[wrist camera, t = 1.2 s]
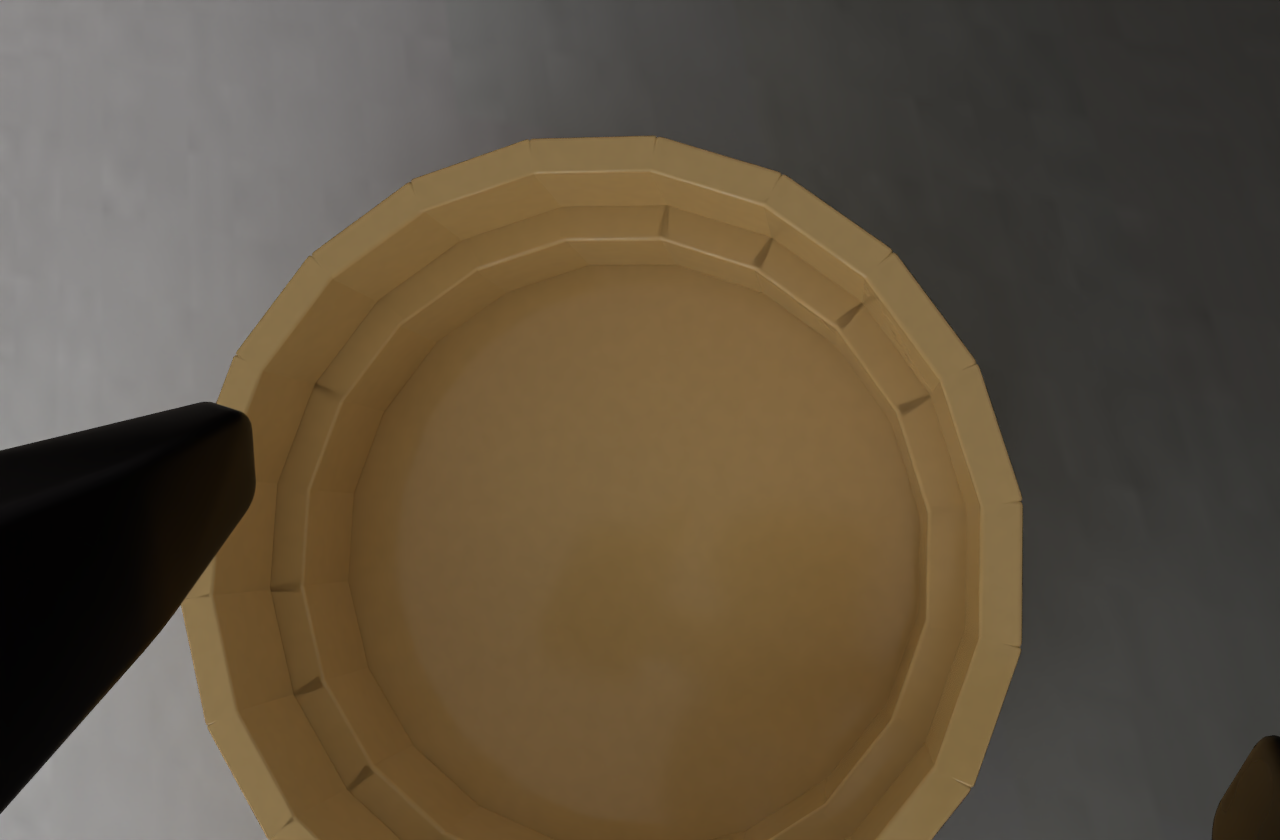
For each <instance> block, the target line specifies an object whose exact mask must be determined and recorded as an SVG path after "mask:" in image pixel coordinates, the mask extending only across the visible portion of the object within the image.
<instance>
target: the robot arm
mask: <svg viewBox="0 0 1280 840" xmlns="http://www.w3.org/2000/svg"><path fill="white" fill-rule="evenodd" d="M255 489H256V474H255V459H254V445H253V431H252V424H251V422H250V420H249V418H248V416H247V415H246V414H244V413H243V412H241V411H239V410H235V409H232V408H229V407H226V406H223V405H220V404H216V403H212V402H200V403H196V404H192V405H188V406H184V407H179V408H175V409H171V410H167V411H163V412H159V413H155V414H150V415H146V416H142V417H138V418H134V419H130V420H126V421H121V422H117V423H113V424H109V425H105V426H101V427H97V428H92V429H88V430H84V431H80V432H76V433H72V434H68V435H63V436H59V437H55V438H51V439H47V440H43V441H39V442H34V443H30V444H26V445H22V446H18V447H14V448H10V449H5V450H1V451H0V814H1V813H2V812H3V810H4V809H5V808H6V807H7V806H8V805H9V804H10V802H11V801H12V800H13V799H14V798H15V797H16V796H17V795H18V793H19V792H20V791H21V790H22V789H23V788H24V787H25V785H26V784H27V783H28V782H29V781H30V780H31V779H32V778H33V776H34V775H35V774H36V773H37V772H38V771H39V770H40V768H41V767H42V766H43V765H44V764H45V763H46V762H47V761H48V759H49V758H50V757H51V756H52V755H53V754H54V753H55V751H56V750H57V749H58V748H59V747H60V746H61V745H62V744H63V742H64V741H65V740H66V739H67V738H68V737H69V736H70V734H71V733H72V732H73V731H74V730H75V729H76V728H77V727H78V725H79V724H80V723H81V722H82V721H83V720H84V719H85V717H86V716H87V715H88V714H89V713H90V712H91V711H92V710H93V708H94V707H95V706H96V705H97V704H98V703H99V702H100V700H101V699H102V698H103V697H104V696H105V695H106V694H107V693H108V691H109V690H110V689H111V688H112V687H113V686H114V685H115V683H116V682H117V681H118V680H119V679H120V678H121V677H122V676H123V674H124V673H125V672H126V671H127V670H128V669H129V668H130V666H131V665H132V664H133V663H134V662H135V661H136V660H137V659H138V657H139V656H140V655H141V654H142V653H143V652H144V651H145V649H146V648H147V647H148V646H149V645H150V643H151V642H152V641H153V640H154V639H155V637H156V636H157V635H158V634H159V633H160V631H161V630H162V629H163V628H164V626H165V625H166V624H167V622H168V621H169V620H170V618H171V617H172V616H173V614H174V613H175V612H176V610H177V609H178V608H179V606H180V605H181V603H182V602H183V601H184V599H185V598H186V596H187V595H188V594H189V592H190V591H191V589H192V588H193V587H194V585H195V584H196V582H197V581H198V580H199V578H200V577H201V575H202V574H203V572H204V571H205V570H206V568H207V567H208V565H209V564H210V563H211V561H212V560H213V558H214V557H215V556H216V554H217V553H218V551H219V550H220V549H221V547H222V546H223V544H224V543H225V542H226V540H227V539H228V537H229V536H230V534H231V533H232V532H233V530H234V529H235V527H236V526H237V525H238V523H239V522H240V520H241V519H242V518H243V516H244V515H245V513H246V512H247V510H248V509H249V507H250V505H251V503H252V501H253V498H254V494H255ZM1212 840H1280V737H1279V736H1275V735H1272V736H1267V737H1264V738H1262V739H1261V740H1260V741H1259V742H1258V743H1257V744H1256V745H1255V746H1254V748H1253V749H1252V751H1251V753H1250V754H1249V756H1248V757H1247V759H1246V761H1245V762H1244V764H1243V765H1242V767H1241V769H1240V770H1239V772H1238V773H1237V775H1236V777H1235V778H1234V780H1233V781H1232V783H1231V785H1230V786H1229V788H1228V789H1227V791H1226V793H1225V794H1224V796H1223V797H1222V799H1221V801H1220V803H1219V805H1218V808H1217V810H1216V813H1215V817H1214V822H1213V828H1212Z"/></svg>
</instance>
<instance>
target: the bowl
mask: <svg viewBox="0 0 1280 840" xmlns="http://www.w3.org/2000/svg"><path fill="white" fill-rule="evenodd" d="M236 354H237V355H235V356H234V357H233V360H232V363H231V365H230V368H229V371H228V373H227V376H226V379H225V381H224V384H223V387H222V389H221V392H220V394H219V397H218V400H217V402H216V404H220V405H223V406H226V407H229V408H232V409H235V410H239V411H241V412H243V413H244V414H246V415H247V416H248V418H249V420H250V422H251V424H252V431H253V445H254V459H255V474H256V489H255V494H254V498H253V501H252V503H251V505H250V507H249V509H248V510H247V512H246V513H245V515H244V516H243V518H242V519H241V520H240V522H239V523H238V525H237V526H236V527H235V529H234V530H233V532H232V533H231V534H230V536H229V537H228V539H227V540H226V542H225V543H224V544H223V546H222V547H221V549H220V550H219V551H218V553H217V554H216V556H215V557H214V558H213V560H212V561H211V563H210V564H209V565H208V567H207V568H206V570H205V571H204V572H203V574H202V575H201V577H200V578H199V580H198V581H197V582H196V584H195V585H194V587H193V588H192V589H191V591H190V592H189V594H188V595H187V596H186V598H185V599H184V601H183V602H182V603H181V607H182V612H183V617H184V622H185V626H186V631H187V636H188V641H189V646H190V650H191V655H192V660H193V665H194V670H195V674H196V679H197V684H198V689H199V693H200V698H201V703H202V708H203V713H204V717H205V722H206V725H208V726H207V728H208V730H209V732H210V734H211V735H212V737H213V739H214V741H215V743H216V745H217V747H218V748H219V750H220V752H221V754H222V756H223V758H224V759H225V761H226V763H227V765H228V767H229V769H230V770H231V772H232V774H233V776H234V778H235V780H236V781H237V783H238V785H239V787H240V789H241V791H242V793H243V794H244V796H245V798H246V800H247V802H248V804H249V805H250V807H251V809H252V811H253V813H254V815H255V816H256V818H257V820H258V822H259V824H260V826H261V828H262V829H263V831H264V833H265V835H266V837H267V839H268V840H932V839H933V838H934V837H935V835H936V834H937V833H938V831H939V830H940V829H941V828H942V826H943V825H944V824H945V823H946V821H947V820H948V819H949V818H950V816H951V815H952V814H953V813H954V811H955V810H956V809H957V808H958V806H959V805H960V804H961V803H962V801H963V800H964V799H965V798H966V796H967V795H968V794H969V792H970V790H971V787H973V786H974V785H975V782H976V779H977V777H978V774H979V771H980V768H981V765H982V762H983V759H984V757H985V754H986V751H987V748H988V745H989V742H990V739H991V736H992V734H993V731H994V728H995V725H996V722H997V719H998V716H999V714H1000V711H1001V708H1002V705H1003V702H1004V699H1005V696H1006V694H1007V691H1008V688H1009V685H1010V682H1011V679H1012V676H1013V674H1014V671H1015V668H1016V665H1017V662H1018V659H1019V656H1020V654H1021V648H1020V646H1021V644H1022V586H1023V504H1022V502H1020V501H1022V495H1021V492H1020V489H1019V486H1018V483H1017V480H1016V477H1015V474H1014V471H1013V467H1012V464H1011V461H1010V458H1009V455H1008V452H1007V449H1006V446H1005V443H1004V440H1003V437H1002V434H1001V431H1000V428H999V425H998V422H997V419H996V416H995V413H994V410H993V407H992V404H991V400H990V397H989V394H988V391H987V388H986V385H985V382H984V379H983V376H982V373H981V370H980V367H979V365H978V364H976V361H975V358H974V357H973V356H972V354H971V353H970V352H969V350H968V349H967V348H966V346H965V345H964V344H963V342H962V341H961V340H960V338H959V337H958V336H957V334H956V333H955V332H954V330H953V329H952V328H951V326H950V325H949V324H948V322H947V321H946V320H945V318H944V317H943V316H942V314H941V313H940V311H939V310H938V309H937V307H936V306H935V305H934V303H933V302H932V301H931V299H930V298H929V297H928V295H927V294H926V293H925V291H924V290H923V289H922V287H921V286H920V285H919V283H918V282H917V281H916V279H915V278H914V277H913V275H912V274H911V273H910V271H909V270H908V268H907V267H906V266H905V264H904V263H903V262H902V260H901V259H900V258H899V256H898V255H897V254H896V253H892V249H891V248H890V247H888V246H887V245H886V244H884V243H883V242H881V241H880V240H878V239H877V238H876V237H874V236H873V235H871V234H870V233H868V232H867V231H865V230H864V229H863V228H861V227H860V226H858V225H857V224H855V223H854V222H853V221H851V220H850V219H848V218H847V217H845V216H844V215H843V214H841V213H840V212H838V211H837V210H835V209H834V208H833V207H831V206H830V205H828V204H827V203H825V202H824V201H822V200H821V199H820V198H818V197H817V196H815V195H814V194H812V193H811V192H810V191H808V190H807V189H805V188H804V187H802V186H801V185H800V184H798V183H797V182H795V181H794V180H792V179H791V178H790V177H788V176H787V175H782V174H781V173H780V172H778V171H774V170H771V169H768V168H764V167H761V166H758V165H754V164H751V163H748V162H744V161H741V160H738V159H734V158H731V157H727V156H724V155H721V154H717V153H714V152H711V151H707V150H704V149H701V148H697V147H694V146H690V145H687V144H684V143H680V142H677V141H674V140H670V139H667V138H664V137H658V138H657V137H656V136H618V137H579V138H541V139H531V140H524V141H521V142H518V143H515V144H512V145H509V146H507V147H504V148H501V149H498V150H495V151H492V152H489V153H486V154H484V155H481V156H478V157H475V158H472V159H469V160H466V161H463V162H461V163H458V164H455V165H452V166H449V167H446V168H443V169H440V170H438V171H435V172H432V173H429V174H426V175H423V176H420V177H417V178H415V179H412V180H411V182H409V183H407V184H405V185H404V186H403V187H401V188H400V189H399V190H397V191H396V192H394V193H393V194H392V195H390V196H389V197H388V198H386V199H385V200H384V201H382V202H381V203H380V204H378V205H377V206H375V207H374V208H373V209H371V210H370V211H369V212H367V213H366V214H365V215H363V216H362V217H360V218H359V219H358V220H356V221H355V222H354V223H352V224H351V225H350V226H348V227H347V228H346V229H344V230H343V231H341V232H340V233H339V234H337V235H336V236H335V237H333V238H332V239H331V240H329V241H328V242H327V243H325V244H324V245H322V246H321V247H320V248H318V249H317V250H316V251H314V252H313V254H312V256H309V257H308V258H307V259H306V260H305V261H304V263H303V264H302V265H301V267H300V268H299V269H298V271H297V272H296V273H295V275H294V276H293V277H292V279H291V280H290V281H289V283H288V284H287V285H286V287H285V288H284V289H283V291H282V292H281V293H280V295H279V296H278V297H277V299H276V300H275V301H274V303H273V304H272V305H271V307H270V308H269V309H268V311H267V312H266V313H265V315H264V316H263V317H262V319H261V320H260V321H259V323H258V324H257V325H256V327H255V328H254V329H253V331H252V332H251V333H250V335H249V336H248V337H247V339H246V340H245V341H244V343H243V344H242V345H241V347H240V348H239V349H238V351H237V352H236Z"/></svg>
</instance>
